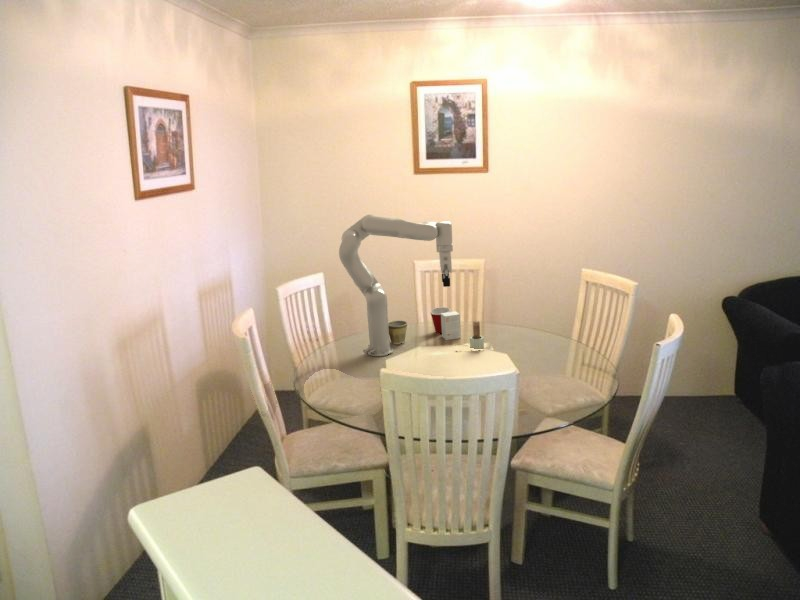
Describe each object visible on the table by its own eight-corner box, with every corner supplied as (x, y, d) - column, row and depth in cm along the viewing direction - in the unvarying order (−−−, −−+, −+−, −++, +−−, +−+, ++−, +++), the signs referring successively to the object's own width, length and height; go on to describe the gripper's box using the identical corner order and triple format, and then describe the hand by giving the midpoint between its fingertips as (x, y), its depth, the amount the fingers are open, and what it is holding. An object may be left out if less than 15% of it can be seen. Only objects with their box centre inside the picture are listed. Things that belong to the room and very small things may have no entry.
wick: (477, 347, 301) (477, 323, 298) (472, 346, 303) (471, 322, 300) (481, 346, 304) (480, 321, 301) (476, 344, 306) (475, 320, 302)
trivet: (454, 354, 299) (454, 352, 299) (452, 345, 311) (452, 344, 311) (493, 351, 299) (493, 350, 299) (490, 343, 310) (490, 342, 310)
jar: (479, 350, 299) (478, 340, 298) (467, 348, 303) (466, 338, 302) (486, 346, 304) (486, 336, 303) (475, 344, 308) (474, 334, 307)
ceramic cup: (406, 345, 315) (404, 326, 313) (386, 345, 317) (384, 326, 315) (410, 337, 327) (409, 318, 325) (391, 337, 329) (390, 318, 327)
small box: (457, 335, 326) (456, 311, 323) (461, 339, 320) (460, 314, 317) (441, 338, 324) (440, 313, 321) (445, 341, 318) (444, 316, 315)
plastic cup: (426, 333, 334) (424, 310, 331) (440, 328, 341) (439, 306, 338) (441, 336, 326) (440, 313, 323) (455, 331, 333) (455, 309, 330)
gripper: (453, 251, 292) (455, 287, 296) (451, 244, 309) (452, 279, 313) (437, 251, 292) (439, 288, 296) (435, 245, 309) (437, 280, 313)
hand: (446, 284), depth 305 cm, fingers open, 9 cm apart
